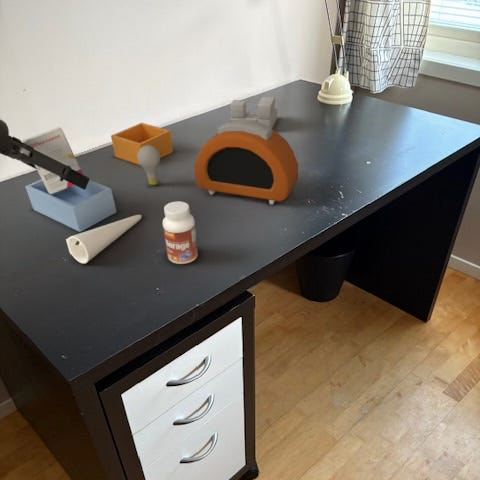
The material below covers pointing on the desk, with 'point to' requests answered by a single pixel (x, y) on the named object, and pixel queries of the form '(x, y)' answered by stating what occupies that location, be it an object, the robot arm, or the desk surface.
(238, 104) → the gray notched block
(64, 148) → the ink box
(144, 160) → the light bulb
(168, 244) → the pill bottle
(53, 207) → the blue bin
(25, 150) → the robot arm
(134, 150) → the amber bin
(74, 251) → the long cone
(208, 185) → the alarm clock
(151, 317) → the desk surface
